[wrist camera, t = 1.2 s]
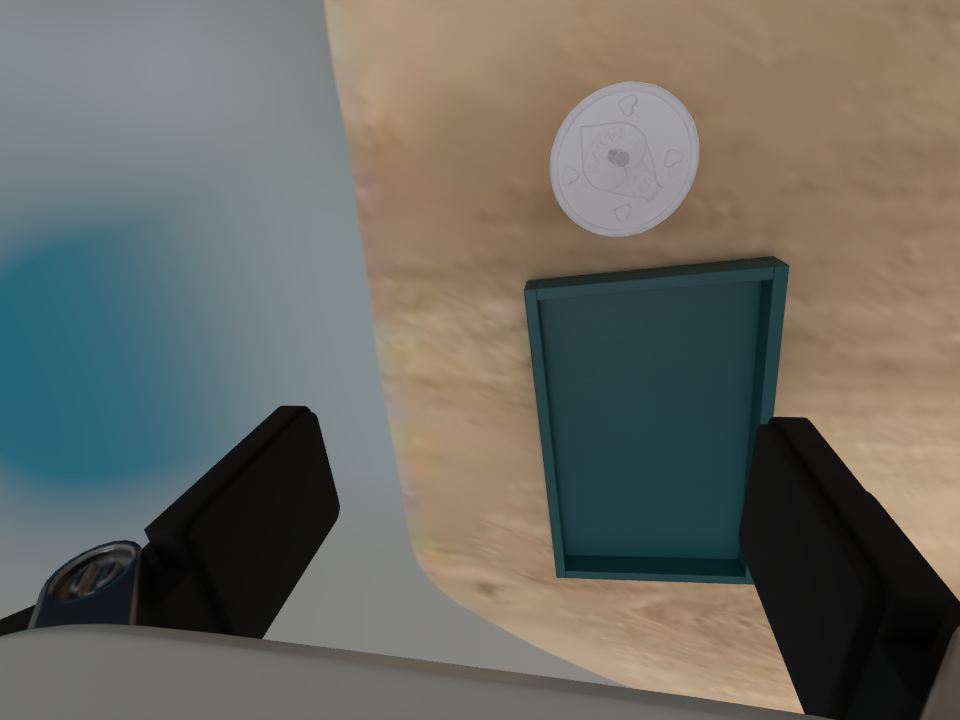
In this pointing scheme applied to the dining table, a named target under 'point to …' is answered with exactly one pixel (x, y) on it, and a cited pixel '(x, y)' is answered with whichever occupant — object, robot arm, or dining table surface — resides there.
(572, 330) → the tray
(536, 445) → the dining table surface
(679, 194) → the smoothie
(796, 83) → the dining table surface
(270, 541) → the robot arm
